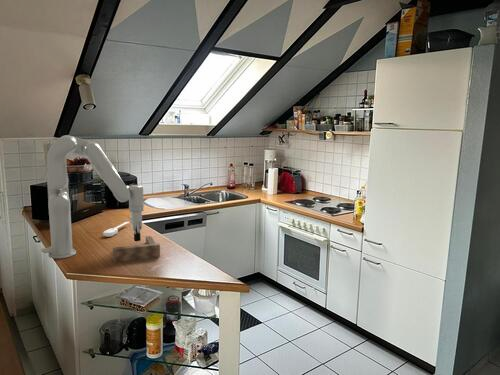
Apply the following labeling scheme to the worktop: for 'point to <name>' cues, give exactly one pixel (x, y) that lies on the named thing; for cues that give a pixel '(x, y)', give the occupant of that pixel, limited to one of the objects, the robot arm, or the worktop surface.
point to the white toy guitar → (113, 230)
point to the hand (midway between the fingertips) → (137, 240)
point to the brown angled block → (137, 251)
